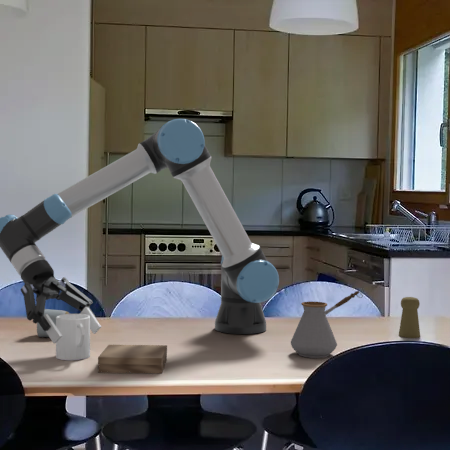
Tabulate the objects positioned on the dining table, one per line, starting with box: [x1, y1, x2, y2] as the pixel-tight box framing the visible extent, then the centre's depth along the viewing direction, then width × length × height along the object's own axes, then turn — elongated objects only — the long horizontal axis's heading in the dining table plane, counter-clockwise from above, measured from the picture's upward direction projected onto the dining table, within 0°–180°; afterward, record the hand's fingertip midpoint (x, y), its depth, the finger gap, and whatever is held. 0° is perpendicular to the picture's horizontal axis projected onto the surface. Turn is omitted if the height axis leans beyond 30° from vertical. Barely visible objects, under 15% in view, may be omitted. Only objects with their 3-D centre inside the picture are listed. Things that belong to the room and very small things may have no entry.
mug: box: [55, 313, 91, 361], centre depth 167 cm, size 8×12×10 cm, turn 30°
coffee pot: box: [290, 290, 363, 359], centre depth 176 cm, size 21×12×15 cm, turn 123°
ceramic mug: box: [36, 308, 70, 338], centre depth 194 cm, size 11×8×8 cm
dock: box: [97, 344, 168, 374], centre depth 160 cm, size 14×13×4 cm
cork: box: [398, 296, 421, 339], centre depth 198 cm, size 6×6×11 cm
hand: (78, 335), depth 166 cm, fingers open, 13 cm apart
